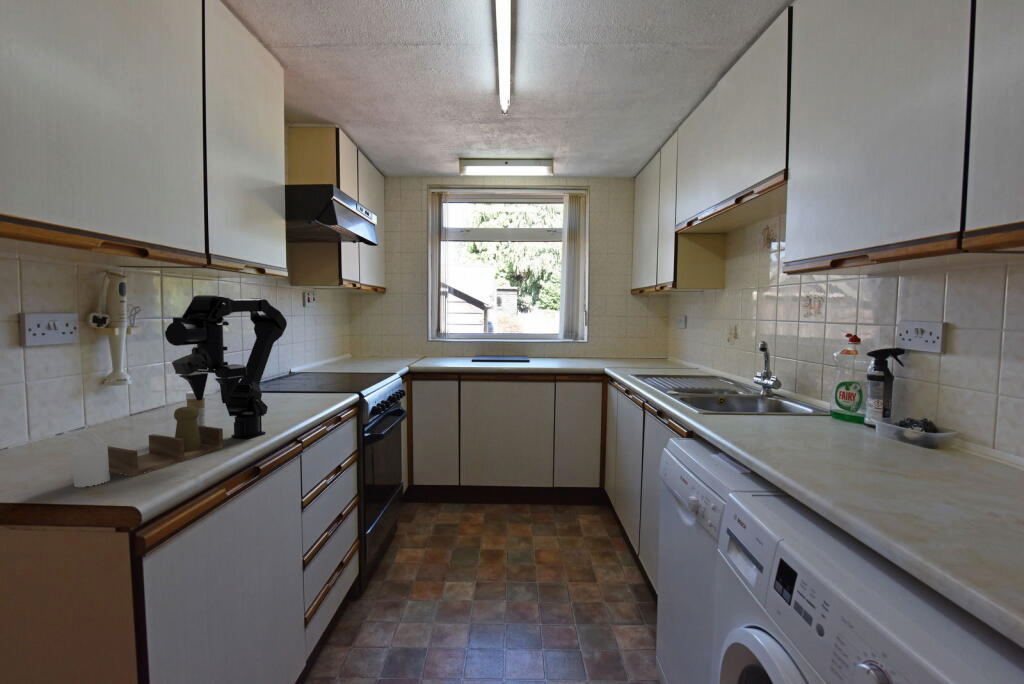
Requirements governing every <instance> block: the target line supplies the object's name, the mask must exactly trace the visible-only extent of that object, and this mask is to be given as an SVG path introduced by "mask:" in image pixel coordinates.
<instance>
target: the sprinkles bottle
mask: <svg viewBox="0 0 1024 684" xmlns="http://www.w3.org/2000/svg"><path fill="white" fill-rule="evenodd" d="M205 398H206V391H205V390H204V395H203V398H202V400H200V401H197V399H196V397H195V395H194V392H193V390H190V391H186V392H185V399H186V407H188V406H191V407H196V408H198V410H199V416H198V418H197V423H198V425H199V426H206V425H207V424H206V422H207V421H206V419H207V418H206V399H205Z"/></svg>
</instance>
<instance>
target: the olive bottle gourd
mask: <svg viewBox="0 0 1024 684" xmlns="http://www.w3.org/2000/svg"><path fill="white" fill-rule="evenodd" d="M198 416H199V410H198V408H196V407H191V406H188V407H187V406H182V407H179V408H176V409H175V411H174V412H173V418H174V420H175V421H176V426H175V427H176V428H175V434H174V437H175V438H182V439H184V452H190V451H194V450H198V449H200V448H202V444H201V439H200V434H199V429H198V423H197V418H198Z"/></svg>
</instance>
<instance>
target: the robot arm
mask: <svg viewBox="0 0 1024 684" xmlns="http://www.w3.org/2000/svg"><path fill="white" fill-rule="evenodd" d="M242 312H243V313H247V312H249V313H250V318H249V319H250V321H251V322H252V324H253V325H254V327H253V331H254V334H255V341H254V344H253V346H252V348H251V351H250V354H249V357H248V359H247V362H246V365H244V364H238V363H237V364H236V363H235V364H234V363H231V364H229V362H228V361H225V352H226V351H228V346H224V327H225V326H229V324H230V323H229V322H228V321H227V320H226V319H225V318H224V317H227V316H229V315H231V314H232V313H242ZM259 312H262V313H263V314H262V313H261V314H260V313H259ZM287 326H288V323H287V319H286V317H285V316H284V314H282V312H281V311H280V310H279V309H277V308H276V307H274V306H273V305H271V304H270V303H269V301H268V300H267V299H266V298H259V297H258V298H255V297H254V298H251V297H250V298H244V299H243V298H229V297H228V296H225V295H224V296H222V295H216V294H215V295H211V294H209V295H208V294H206V295H205V294H204V295H202V294H201V295H200V294H199V295H195V296H193V298H192V299H191V302H190V303H189V305H188V307H187V308H186V310H185V311H184V313H183V314H182V315H181V317H172V322H171V323H170V324H169V325H168V326H167V328H166V330H165V331H164V336H165V340H166V341H167V342H168V343H169V344H170V345H172V346H174V347H175V346H176V347H179V346H180V347H181V346H189V345H190V346H191V345H196V346H194V347H192V348H191V354H188V355H187V354H186V355H184V356H182V357H180V358H177V359H175V360H173V361H171V365H172V367H173V368H174V369H173V370H174V372H175V375H178V377H180V378H181V379H184V380H185V381H187V382H188V384H189V385H190V389H191V391H193V392H194V395H195V397H196V399H197V401H200V400H202V398H203V395H204V391H205V389H206V384H207V380H208V376H209V374H215V376H216V377H215V378H214V380H215V381H216V382H217V383H218V384H219V388H220V398H221V403H222V404H225V407H226V410H227V413H228V416H229V417H234V422H233V434H231V435H230V436H231V438H236V439H244V440H248V439H252V438H255V437H259V436H262V435H265V434H266V431H263V430H262V429H263V428H262V427H263V426H262V417H263V416H265V415H266V414H267V412H268V405H267V404H266V403H265V402H264V400H262V396H263V393H262V389H261V387H260V384H261V381H262V378H263V375H264V372H265V369H266V366H267V363H268V361H269V357H270V355H271V352H272V349H273V347H274V343H276V341H278V340H279V339H280V338H281V337H282V336H283V334H284V332H285V330H286V328H287ZM224 351H225V352H224Z"/></svg>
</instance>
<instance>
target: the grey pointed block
mask: <svg viewBox="0 0 1024 684" xmlns="http://www.w3.org/2000/svg"><path fill="white" fill-rule="evenodd" d="M107 446H108V445H107V444H106V443H105V442H104V441H103V440H102V439H101V438H100V437H98V436H97V435H96V434H94V433H93V432H91V431H90V430H86V428H85V427H84V428H81V429H80V433H79V436H78V438H77V441H76V443H75V444H74V445H73V447H71V449H70V457H71V458H70V459H71V476H72V479H73V485H74V487H75V488H86V487H85V486H89V487H93V485H95V486H99V485H102V484H101V483H103V484H105V483H107V481H108V482H109V481H110V480H111V475H110V474H111V473H110V472H109V461H108V448H107ZM104 482H105V483H104ZM98 484H99V485H98Z"/></svg>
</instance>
